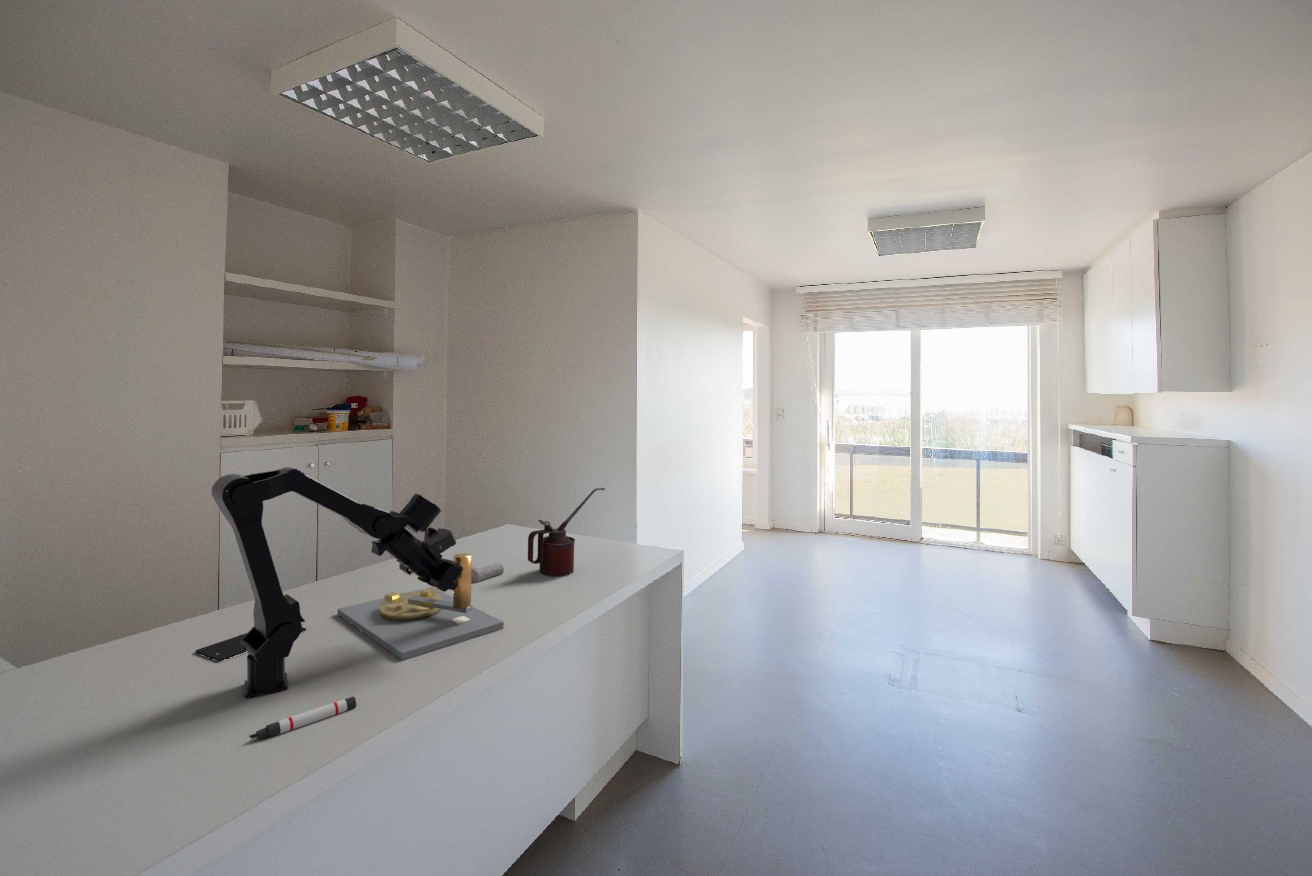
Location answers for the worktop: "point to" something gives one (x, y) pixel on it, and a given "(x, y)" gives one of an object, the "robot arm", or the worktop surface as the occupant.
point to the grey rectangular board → (419, 627)
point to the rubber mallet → (485, 571)
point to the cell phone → (225, 648)
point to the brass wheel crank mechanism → (430, 598)
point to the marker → (305, 718)
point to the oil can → (555, 547)
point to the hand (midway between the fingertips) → (454, 587)
